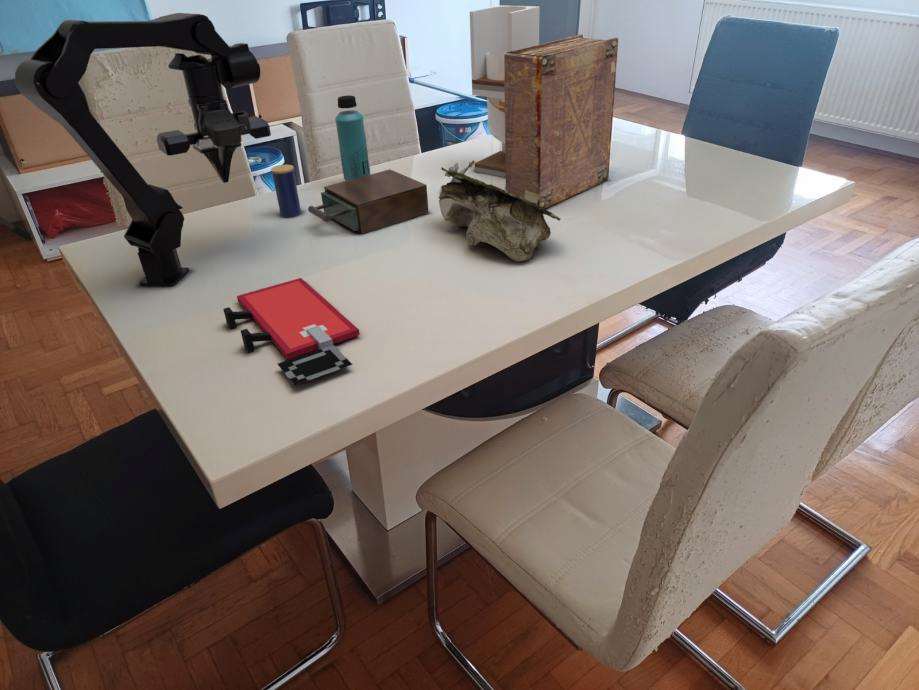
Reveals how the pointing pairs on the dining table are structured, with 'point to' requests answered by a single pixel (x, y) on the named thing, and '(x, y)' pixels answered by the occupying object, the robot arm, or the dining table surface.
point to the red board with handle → (296, 328)
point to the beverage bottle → (352, 140)
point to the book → (559, 117)
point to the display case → (498, 64)
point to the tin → (286, 190)
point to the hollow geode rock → (494, 216)
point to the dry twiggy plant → (460, 171)
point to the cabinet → (383, 198)
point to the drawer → (337, 211)
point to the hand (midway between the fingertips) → (225, 182)
